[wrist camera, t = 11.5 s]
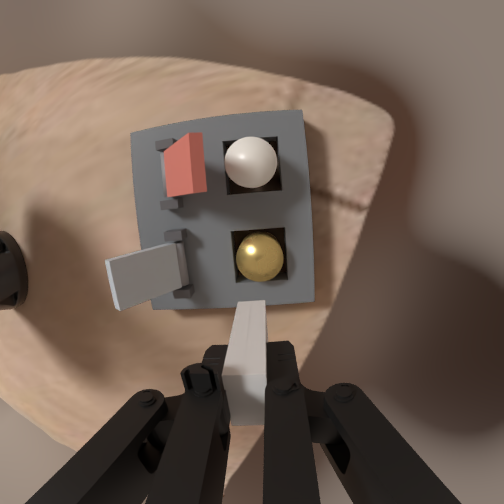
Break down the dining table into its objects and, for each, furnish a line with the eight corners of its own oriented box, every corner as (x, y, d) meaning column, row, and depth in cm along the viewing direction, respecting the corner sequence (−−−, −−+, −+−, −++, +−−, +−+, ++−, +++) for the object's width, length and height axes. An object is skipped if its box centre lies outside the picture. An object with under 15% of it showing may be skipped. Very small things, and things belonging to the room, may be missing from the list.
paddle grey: (183, 281, 32) (114, 307, 25) (177, 240, 31) (104, 259, 24) (192, 283, 31) (121, 311, 24) (186, 240, 30) (110, 261, 23)
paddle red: (162, 198, 29) (190, 193, 21) (158, 154, 28) (186, 132, 20) (175, 196, 30) (209, 191, 22) (172, 153, 29) (204, 132, 21)
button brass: (241, 273, 33) (238, 283, 30) (237, 232, 32) (233, 237, 29) (282, 270, 33) (284, 280, 30) (279, 229, 32) (281, 234, 29)
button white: (231, 189, 29) (226, 189, 26) (227, 145, 28) (222, 139, 25) (277, 186, 29) (279, 185, 26) (273, 141, 28) (274, 134, 25)
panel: (160, 300, 36) (147, 316, 31) (140, 136, 31) (122, 130, 26) (310, 292, 35) (317, 308, 30) (298, 116, 30) (304, 104, 25)
